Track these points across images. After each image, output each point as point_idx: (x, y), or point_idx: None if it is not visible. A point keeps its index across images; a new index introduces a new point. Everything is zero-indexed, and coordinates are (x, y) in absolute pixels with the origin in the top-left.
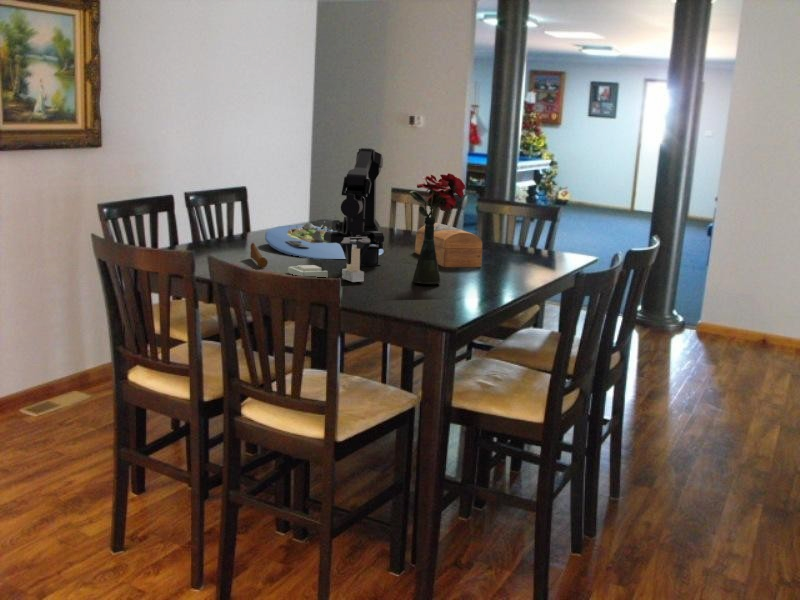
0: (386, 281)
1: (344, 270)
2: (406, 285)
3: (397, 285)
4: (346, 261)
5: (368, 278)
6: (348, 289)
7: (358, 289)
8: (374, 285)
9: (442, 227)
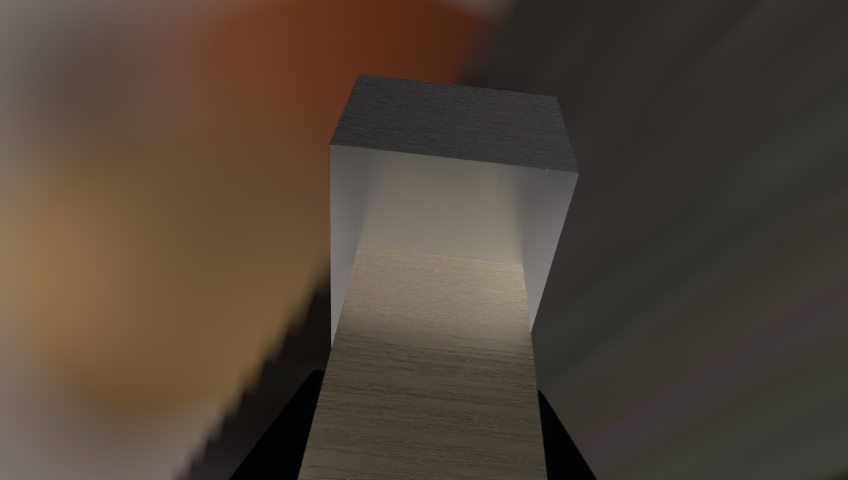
0: (824, 315)
1: (333, 211)
2: (784, 475)
3: (714, 457)
4: (290, 401)
5: (836, 87)
6: (199, 450)
7: None
8: None
9: None
